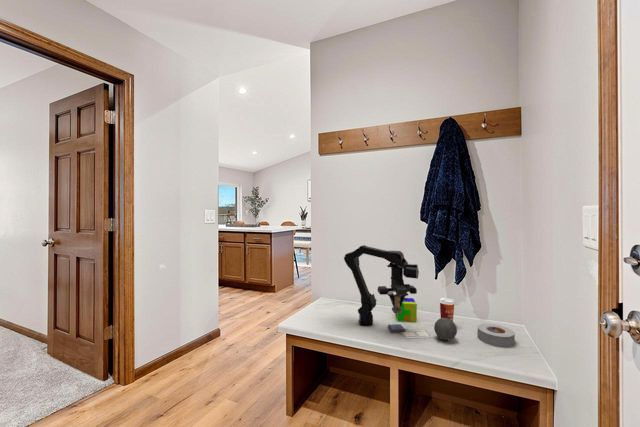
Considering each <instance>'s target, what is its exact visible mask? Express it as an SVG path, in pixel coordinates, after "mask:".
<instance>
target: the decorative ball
mask: <svg viewBox="0 0 640 427" xmlns="http://www.w3.org/2000/svg"><path fill="white" fill-rule="evenodd" d="M433 330H434V332H435V334H436V336H437V337H438V338H440V339H441V340H443V341H450V340H453V339H454V338H456V336H457V334H458V329H457V325H456V323H455V322H454V320H453V321H452V320H450V319H448V318H441V317H440V318H438V319H437V320H436V322H435V324H434V327H433Z"/></svg>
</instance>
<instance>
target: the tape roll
mask: <svg viewBox="0 0 640 427" xmlns="http://www.w3.org/2000/svg"><path fill="white" fill-rule="evenodd" d="M515 335H516V333H515V331H514V330H512V329H511V328H510V327H506V326H502V325H500V324H495V323H480V324H478V325H477V339H478V340H479V341H481V342H483V343H484V344H486V345H489V346H494V347H499V348H511V347H513V346H515Z"/></svg>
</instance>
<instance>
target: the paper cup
mask: <svg viewBox="0 0 640 427" xmlns="http://www.w3.org/2000/svg"><path fill="white" fill-rule="evenodd" d="M455 304H456V302H455V300H454V299H452V298H450V297H441V298H440V299H439V309H440V310H439V311H440V315H439V316H440V319H441V318H448V319H450V320H452V321H453V322H454V314H455Z"/></svg>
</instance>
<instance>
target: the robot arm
mask: <svg viewBox="0 0 640 427" xmlns="http://www.w3.org/2000/svg"><path fill="white" fill-rule="evenodd" d="M363 255H368V256H371V257H376V258H380V259H384V260H385V261H388V262H389V264H388V265H386V267H387V268H391V271H390V272H391V274H390V287H387V286H385V285H382V286H381V285H379V286H378V287H377V292H378V294H379V295H382V296H384V295H387V296H388V297H389V299H390V302H391V304H392V307H394V295H395V294H397V295H400V297H401V299H400V307H401V305H402V302H403V300H404V298H407V296H409V294H410V295H414V294H415V295H417V294H418V291H417V288H416V287H415V286H414V285H411V284H410V283H406V284H405V283H404V278H407V279H408V278H409V279H415V280H417V279H418V278H419V274H420V272H419V267H418V264H417V263H416V264H415V263H414V264H411V263H410V264H409V262H408V261H407V260H406V258H405V255H404V253H403V252H402V251H401V250H385V249H380V248H376V247H373V246H372V247H371V246H368V245H364V244H363V245H360V246H359V247H357V249H356V248H355V250H354V251H350V252H348V253H345V255H344V256H343V260H344V262H345V264H346V266H347V267H348V268H349V269H350V270H351V274H352V275H353V278H354V281H355V284H356V286H357V288H358V292H359V294H360V303H361V306H360V307H359V308H358V309H357V312H358V316H359V318H358V319H359V320H358V323H359V325H360V326H362V327H363V326H365V327H366V326H367V327H368V326H373V325H374V324H373V323H374V315H373V313H372V311H373V310H374V309H375V308H376V306H377V299H376V297H375V296H376V295H375V294H374V293H372V294H371V292H370V290H369V288H368V286H367V284H366V280H365V278H364V276H363V273H362V270H361V267H360V257H361V256H363ZM403 277H404V278H403ZM394 293H395V294H394Z"/></svg>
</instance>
